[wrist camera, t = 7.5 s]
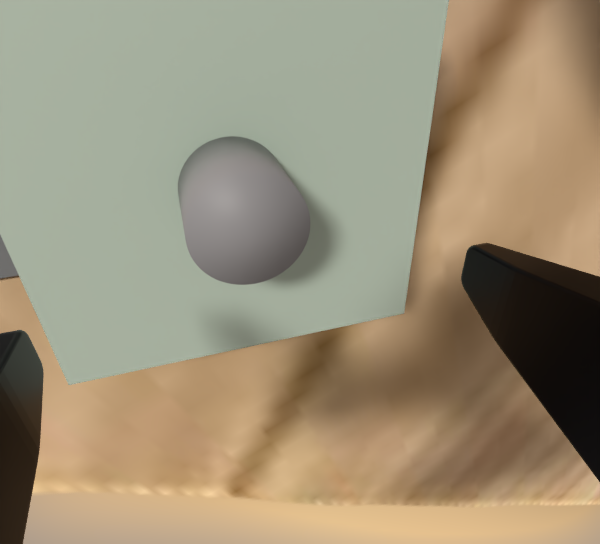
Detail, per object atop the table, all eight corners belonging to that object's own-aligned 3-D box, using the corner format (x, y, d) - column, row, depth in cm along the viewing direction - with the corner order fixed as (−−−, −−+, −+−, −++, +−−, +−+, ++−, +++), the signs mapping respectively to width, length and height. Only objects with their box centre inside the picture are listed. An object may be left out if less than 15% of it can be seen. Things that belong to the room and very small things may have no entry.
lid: (444, -82, 12) (538, -97, 9) (395, 301, 19) (439, 360, 16) (-125, -81, 9) (-246, -103, 6) (71, 369, 16) (56, 453, 14)
